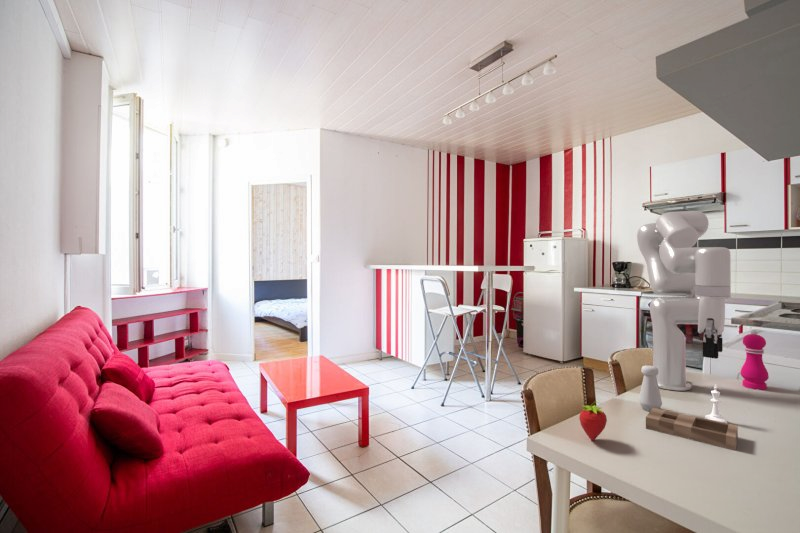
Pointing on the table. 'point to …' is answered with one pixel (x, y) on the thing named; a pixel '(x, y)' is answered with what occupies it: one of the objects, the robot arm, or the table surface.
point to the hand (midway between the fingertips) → (712, 354)
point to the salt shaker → (650, 389)
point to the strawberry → (592, 421)
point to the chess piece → (715, 407)
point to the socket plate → (693, 428)
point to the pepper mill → (754, 362)
